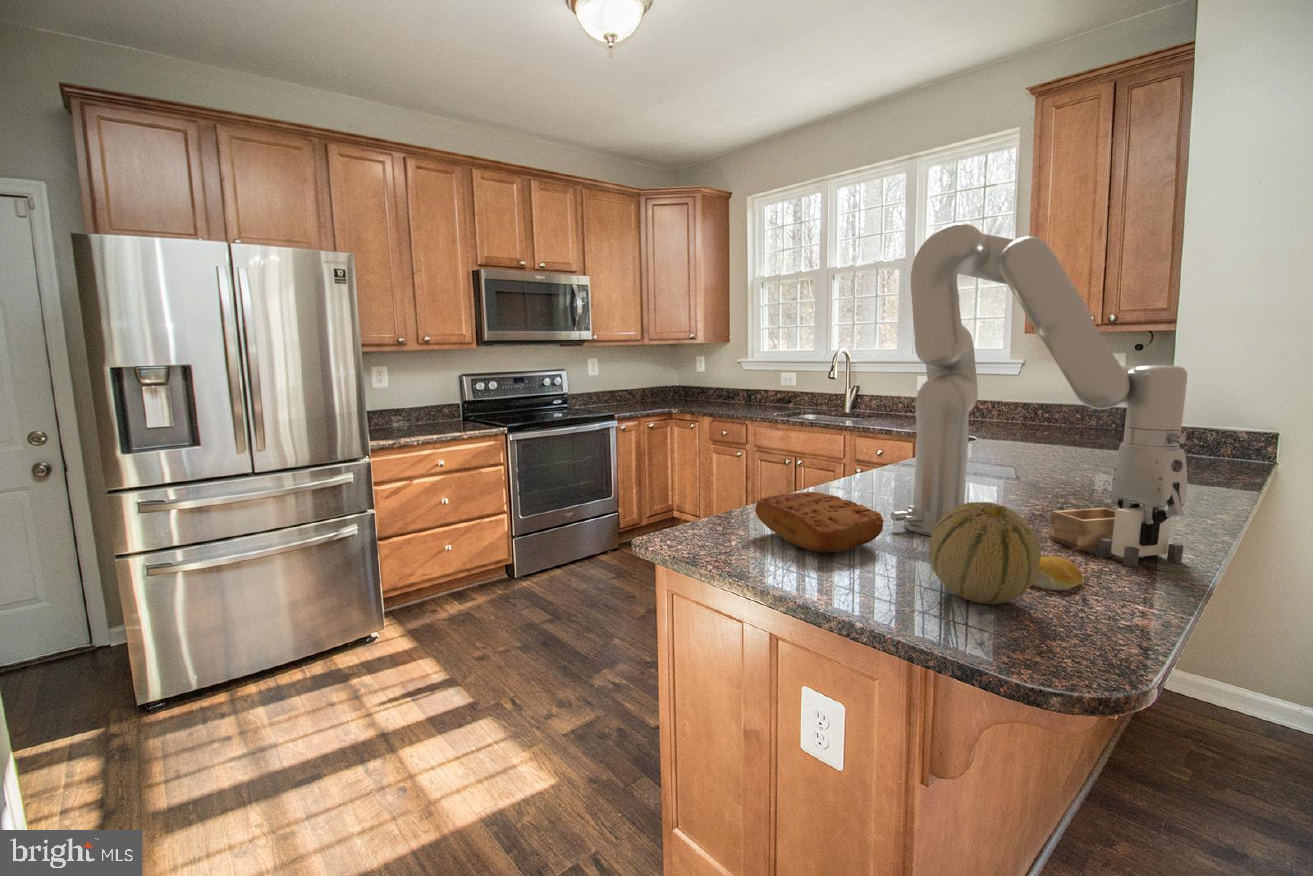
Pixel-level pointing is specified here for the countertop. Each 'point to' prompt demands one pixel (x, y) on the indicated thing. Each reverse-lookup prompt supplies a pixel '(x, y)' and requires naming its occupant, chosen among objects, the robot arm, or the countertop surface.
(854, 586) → the countertop surface
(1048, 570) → the bread roll
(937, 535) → the cantaloupe
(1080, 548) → the open wooden box
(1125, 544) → the white block
